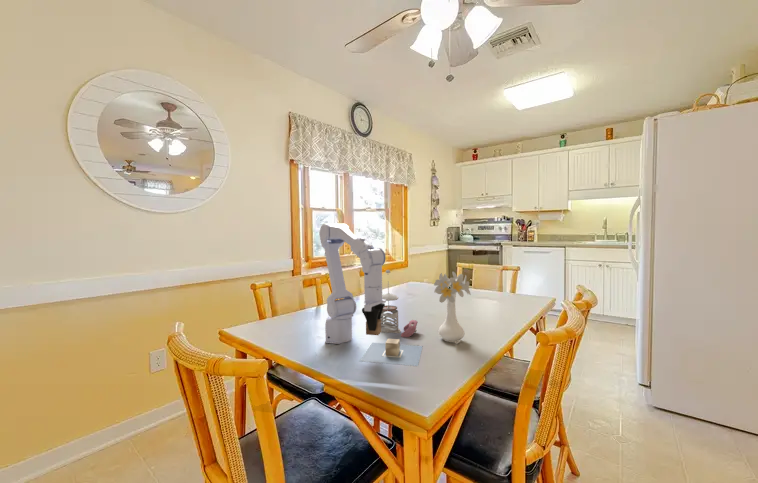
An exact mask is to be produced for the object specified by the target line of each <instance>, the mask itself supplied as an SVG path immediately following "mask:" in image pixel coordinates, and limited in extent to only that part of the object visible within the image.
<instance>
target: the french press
mask: <svg viewBox="0 0 758 483" xmlns="http://www.w3.org/2000/svg"><path fill="white" fill-rule="evenodd" d="M390 273H391V270H390V269H386V270H385V274H390ZM382 299H385V300H386V302H387V305H386V304H385V306H384V308H383V311H382V314H381V332H380V333H390V334H391V333H392V334H400V333H401V331H402V330H401V329H400V328H399V310H398V306H396V305H390V302H391V301H397V300H399V296H397V295H396V294H393V293H389V282H387V293H384V294H383V293H382Z"/></svg>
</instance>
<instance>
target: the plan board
mask: <svg viewBox="0 0 758 483" xmlns="http://www.w3.org/2000/svg"><path fill="white" fill-rule="evenodd" d="M385 343H386V342H385ZM385 343H382V342H371V343H370V345H369V346H368V348H367V349H366V351H365V352H364V354H363V355H362V357H361V358H360V359H359V362H361V363H362V362H365V363H374V364H375V363H376V364H377V363H378V364H386V365H400V366H401V365H402V366H410V367H411V366H413V367H418V366H419V363H420V359H421V354H422V350H423V347H424V346H423V345H412V344H400V352H399V355H398V356H390V355H386V350H385Z"/></svg>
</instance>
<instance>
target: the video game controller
mask: <svg viewBox="0 0 758 483" xmlns="http://www.w3.org/2000/svg"><path fill="white" fill-rule="evenodd" d="M417 326H418V321H417V319H416V320H415V319H412V320H410V321H408V323H407V324H406V325H405V326H404V327H403V332H402V333H401V335H400V336H401V337H402V338H410V337H411V336H413V335H414V333H417V331H418V330H417Z"/></svg>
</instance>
